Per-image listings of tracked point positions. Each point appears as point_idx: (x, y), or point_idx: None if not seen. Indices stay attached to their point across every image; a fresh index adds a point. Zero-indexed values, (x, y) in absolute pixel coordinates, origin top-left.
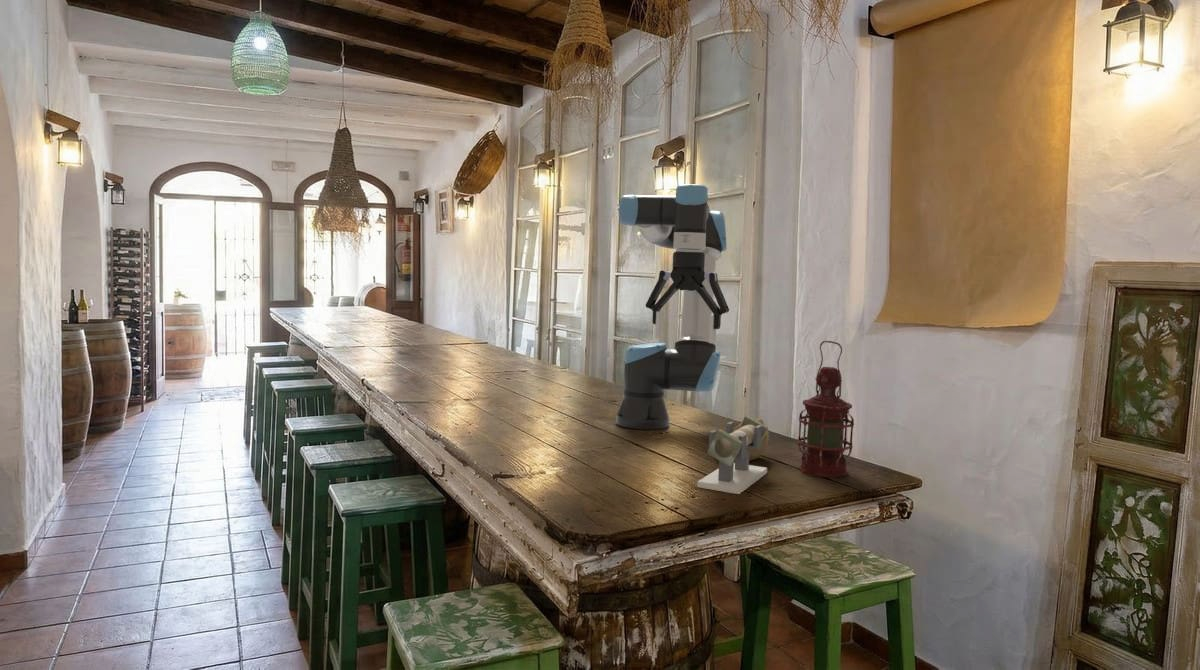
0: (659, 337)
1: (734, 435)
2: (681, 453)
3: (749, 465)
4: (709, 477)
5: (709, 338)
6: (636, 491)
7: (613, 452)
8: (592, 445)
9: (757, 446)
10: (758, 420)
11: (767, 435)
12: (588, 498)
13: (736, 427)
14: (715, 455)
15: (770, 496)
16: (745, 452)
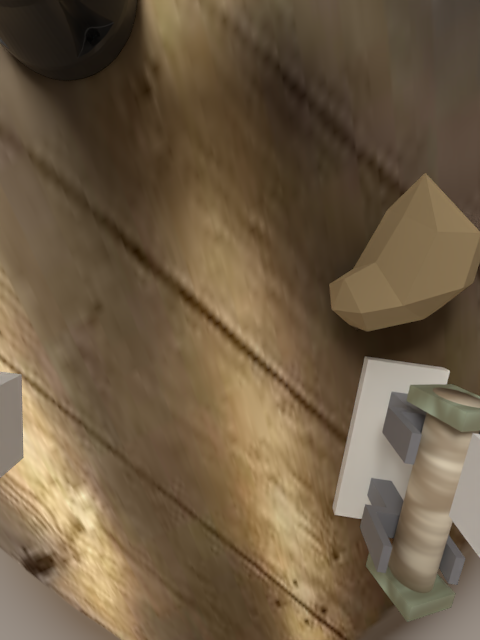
0: (17, 436)
1: (434, 564)
2: (250, 287)
3: (412, 369)
4: (349, 484)
5: (476, 548)
6: (248, 562)
7: (122, 346)
8: (60, 309)
9: None
10: (471, 256)
11: (476, 271)
12: (197, 614)
13: (402, 308)
14: None
15: None
16: None
